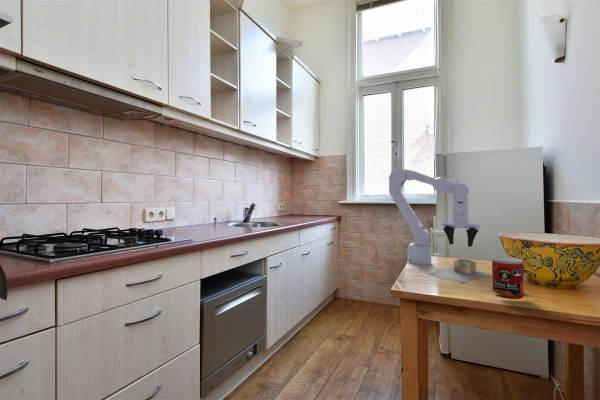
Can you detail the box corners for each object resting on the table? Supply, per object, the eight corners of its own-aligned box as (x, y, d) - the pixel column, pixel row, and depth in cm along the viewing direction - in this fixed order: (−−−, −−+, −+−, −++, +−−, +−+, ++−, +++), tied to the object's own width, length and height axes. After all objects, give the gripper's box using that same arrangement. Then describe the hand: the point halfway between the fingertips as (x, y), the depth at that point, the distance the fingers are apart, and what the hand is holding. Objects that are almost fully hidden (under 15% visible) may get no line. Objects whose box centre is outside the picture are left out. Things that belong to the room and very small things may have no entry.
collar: (453, 271, 114) (453, 260, 114) (461, 268, 117) (461, 258, 117) (469, 274, 109) (469, 263, 109) (476, 271, 113) (476, 261, 113)
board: (426, 277, 110) (426, 274, 110) (453, 268, 122) (453, 266, 122) (465, 286, 99) (464, 282, 99) (491, 276, 111) (491, 272, 111)
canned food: (489, 295, 90) (489, 259, 90) (495, 289, 95) (495, 255, 95) (520, 301, 84) (520, 263, 84) (525, 294, 90) (525, 258, 90)
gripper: (438, 212, 127) (438, 244, 127) (474, 213, 115) (474, 248, 115) (446, 211, 131) (447, 242, 131) (482, 213, 119) (482, 246, 119)
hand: (460, 245), depth 123 cm, fingers open, 7 cm apart
